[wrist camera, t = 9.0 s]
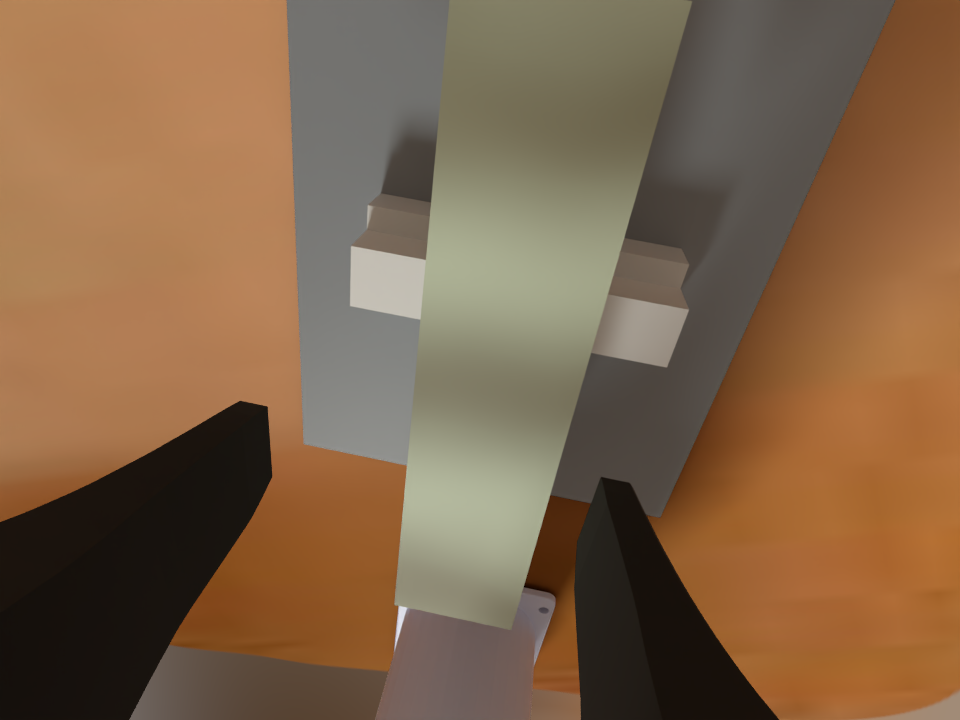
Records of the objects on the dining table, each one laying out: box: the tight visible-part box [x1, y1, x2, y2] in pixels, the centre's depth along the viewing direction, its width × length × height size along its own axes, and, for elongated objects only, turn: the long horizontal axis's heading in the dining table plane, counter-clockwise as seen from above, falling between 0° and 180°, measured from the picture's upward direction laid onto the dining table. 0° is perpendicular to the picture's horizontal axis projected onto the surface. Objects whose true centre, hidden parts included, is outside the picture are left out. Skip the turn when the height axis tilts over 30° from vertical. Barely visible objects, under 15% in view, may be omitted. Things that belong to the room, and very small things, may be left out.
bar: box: [394, 0, 692, 630], centre depth 15 cm, size 16×4×5 cm, turn 172°
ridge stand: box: [287, 0, 895, 518], centre depth 18 cm, size 20×16×4 cm
